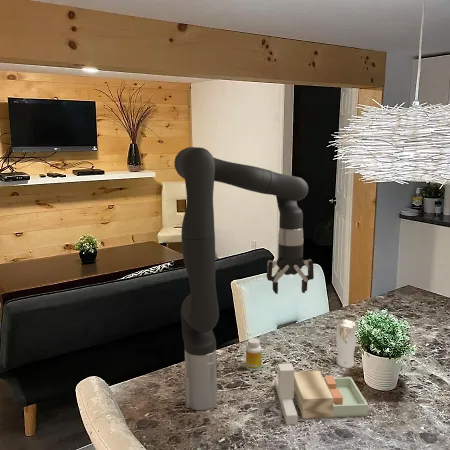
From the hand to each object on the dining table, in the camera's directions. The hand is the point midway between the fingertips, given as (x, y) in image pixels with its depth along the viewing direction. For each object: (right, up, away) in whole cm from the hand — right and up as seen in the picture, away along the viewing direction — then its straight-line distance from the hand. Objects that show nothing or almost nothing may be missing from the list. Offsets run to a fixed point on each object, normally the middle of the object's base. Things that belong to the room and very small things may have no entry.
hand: (289, 292), depth 142 cm
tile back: (+11, -28, -3) cm, 30 cm away
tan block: (+6, -32, -6) cm, 33 cm away
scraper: (-2, -32, -6) cm, 33 cm away
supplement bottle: (-10, -28, +15) cm, 33 cm away
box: (+15, -32, -6) cm, 35 cm away
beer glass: (+22, -27, +17) cm, 39 cm away
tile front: (+11, -30, -10) cm, 33 cm away
